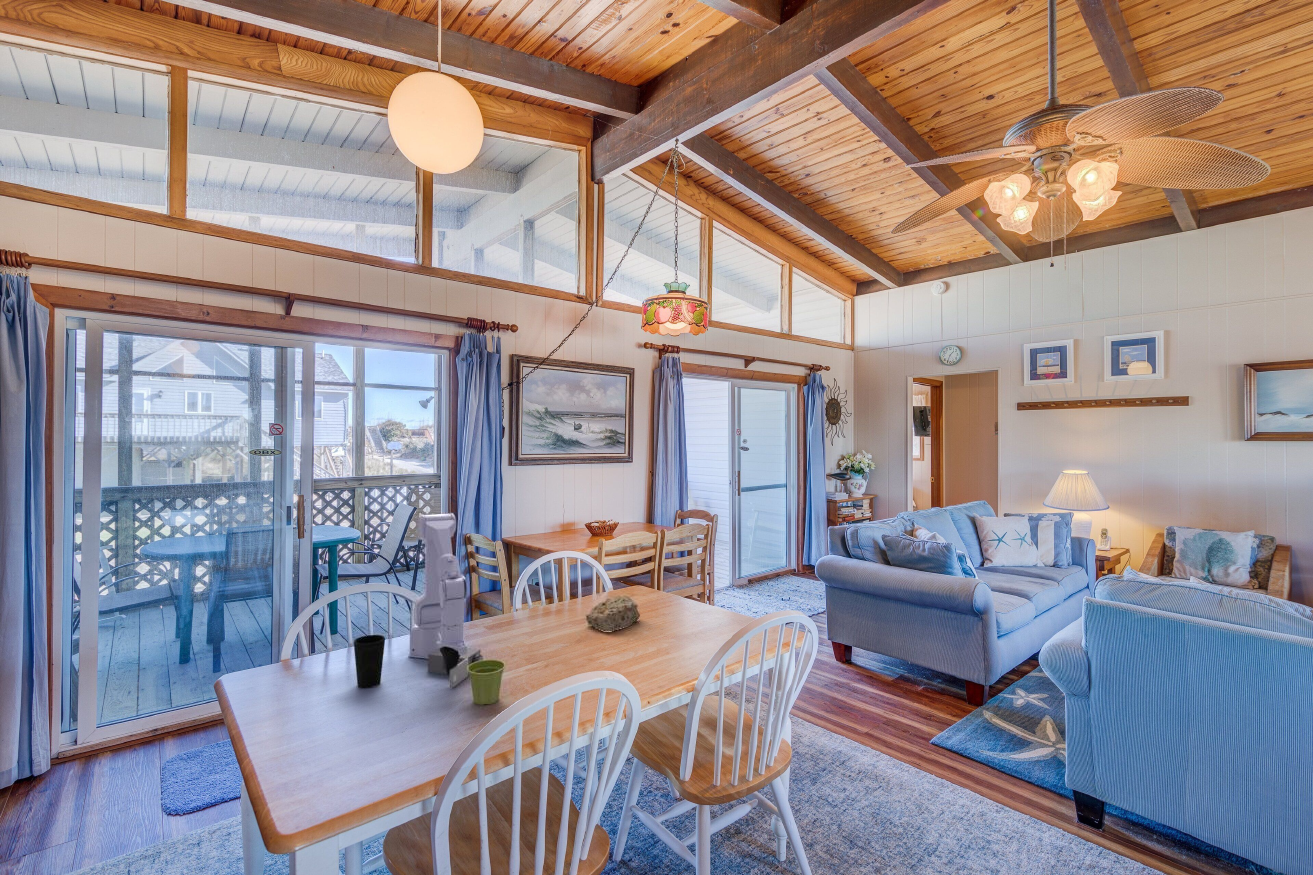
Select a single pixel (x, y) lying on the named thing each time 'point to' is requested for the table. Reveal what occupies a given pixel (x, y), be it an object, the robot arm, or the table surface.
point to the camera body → (438, 663)
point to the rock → (613, 614)
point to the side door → (458, 673)
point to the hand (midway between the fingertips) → (451, 673)
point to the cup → (369, 660)
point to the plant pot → (486, 680)
